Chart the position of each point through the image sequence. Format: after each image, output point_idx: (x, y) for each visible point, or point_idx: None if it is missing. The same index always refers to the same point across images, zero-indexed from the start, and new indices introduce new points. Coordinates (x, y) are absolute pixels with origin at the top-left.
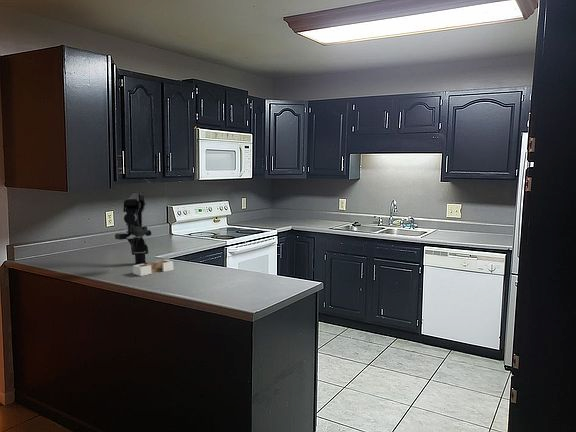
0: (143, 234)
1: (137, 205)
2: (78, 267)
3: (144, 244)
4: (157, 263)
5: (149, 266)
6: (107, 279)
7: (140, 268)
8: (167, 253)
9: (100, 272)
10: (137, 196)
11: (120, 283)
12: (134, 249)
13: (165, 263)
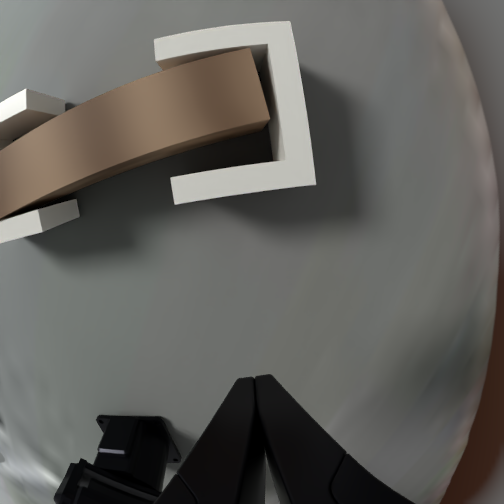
0: None
1: None
2: None
3: None
4: (58, 117)
5: (175, 38)
6: (471, 179)
7: (288, 26)
8: (23, 479)
9: (407, 390)
10: None
11: (440, 19)
12: (266, 381)
13: (11, 98)
